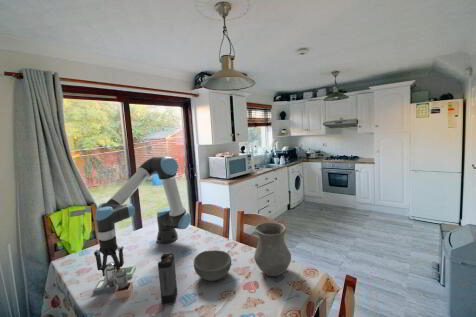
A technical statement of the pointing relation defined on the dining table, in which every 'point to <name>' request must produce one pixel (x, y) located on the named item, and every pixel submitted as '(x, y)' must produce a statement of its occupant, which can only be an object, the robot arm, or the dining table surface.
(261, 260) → the vase
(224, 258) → the bowl
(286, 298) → the dining table surface
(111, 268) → the cell
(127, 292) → the orange open box
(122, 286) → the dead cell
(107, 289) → the cradle
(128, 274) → the trough
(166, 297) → the electronic device
